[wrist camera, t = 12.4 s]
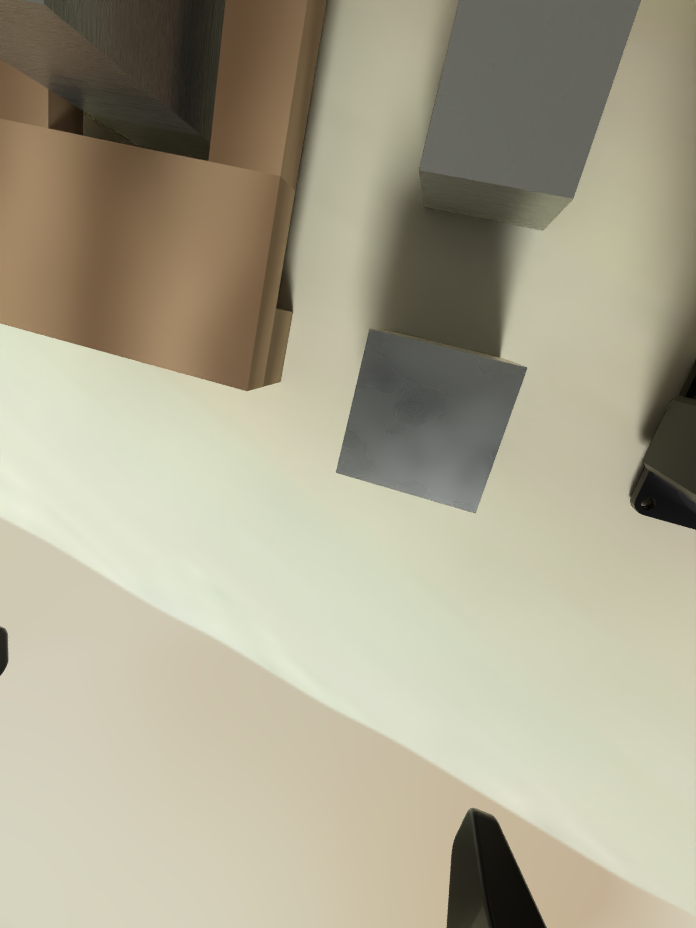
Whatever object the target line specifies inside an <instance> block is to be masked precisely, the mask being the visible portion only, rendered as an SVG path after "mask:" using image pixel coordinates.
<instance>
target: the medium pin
mask: <svg viewBox="0 0 696 928" xmlns="http://www.w3.org/2000/svg"><path fill="white" fill-rule="evenodd" d="M526 370H527V367H524V366H522V365H519V364H516V363H514V362H511V361H508V360H505V359H503V358H500V357H496V356H492V355H488V354H484V353H480V352H475V351H471V350H467V349H463V348H459V347H455V346H451V345H447V344H443V343H439V342H435V341H430V340H426V339H422V338H418V337H414V336H410V335H406V334H402V333H398V332H394V331H385V330H376V329H369V334H368V338H367V342H366V346H365V351H364V355H363V359H362V363H361V368H360V372H359V376H358V381H357V385H356V389H355V393H354V398H353V402H352V406H351V410H350V415H349V419H348V423H347V427H346V432H345V436H344V440H343V445H342V449H341V453H340V457H339V462H338V466H337V470H336V473H339V474H342V475H346V476H349V477H353V478H356V479H360V480H363V481H366V482H370V483H373V484H377V485H380V486H384V487H387V488H390V489H394V490H397V491H401V492H404V493H408V494H411V495H414V496H418V497H421V498H425V499H428V500H431V501H435V502H438V503H442V504H445V505H449V506H452V507H455V508H459V509H462V510H466V511H469V512H473V513H476V510H477V508H478V505H479V502H480V499H481V496H482V494H483V491H484V488H485V485H486V482H487V480H488V477H489V474H490V471H491V468H492V466H493V463H494V460H495V457H496V454H497V452H498V449H499V446H500V443H501V440H502V438H503V435H504V432H505V429H506V426H507V424H508V421H509V418H510V415H511V412H512V409H513V407H514V404H515V401H516V398H517V395H518V393H519V390H520V387H521V384H522V381H523V379H524V376H525V373H526Z"/></svg>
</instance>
